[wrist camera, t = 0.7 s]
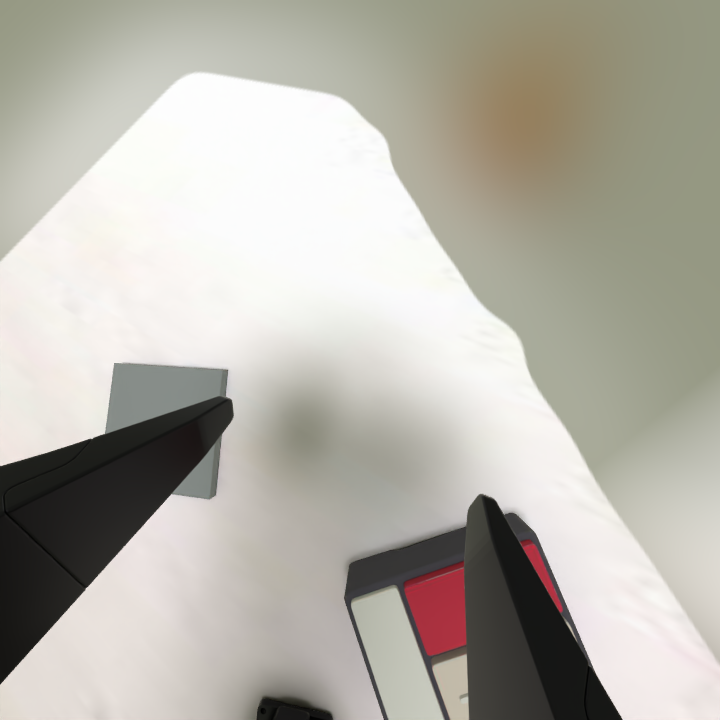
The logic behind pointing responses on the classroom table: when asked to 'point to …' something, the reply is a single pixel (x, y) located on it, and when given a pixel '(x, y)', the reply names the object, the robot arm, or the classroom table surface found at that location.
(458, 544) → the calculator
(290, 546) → the classroom table surface
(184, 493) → the pad
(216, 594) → the classroom table surface
